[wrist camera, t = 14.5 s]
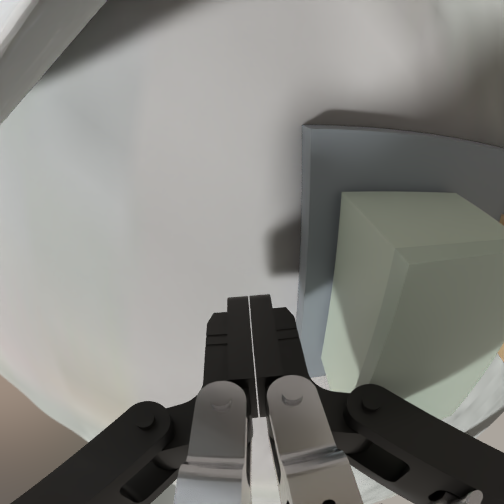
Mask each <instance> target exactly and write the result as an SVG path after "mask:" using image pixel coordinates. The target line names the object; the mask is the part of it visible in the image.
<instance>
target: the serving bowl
mask: <svg viewBox="0 0 504 504" xmlns="http://www.w3.org/2000/svg"><path fill="white" fill-rule="evenodd" d="M106 1H107V0H0V124H1V123H2V122H3V121H4V120H5V119H6V118H7V117H8V116H9V114H10V113H11V112H12V111H13V110H14V108H15V107H16V106H17V105H18V104H19V103H20V102H21V100H22V99H23V98H24V97H25V96H26V95H27V93H28V92H29V91H30V90H31V89H32V88H33V87H34V85H35V84H36V83H37V82H38V81H39V80H40V78H41V77H42V76H43V75H44V74H45V72H46V71H47V70H48V69H49V68H50V66H51V65H52V64H53V63H54V62H55V61H56V59H57V58H58V57H59V56H60V55H61V54H62V52H63V51H64V50H65V49H66V48H67V47H68V45H69V44H70V43H71V42H72V41H73V40H74V38H75V37H76V36H77V35H78V34H79V33H80V32H81V30H82V29H83V28H84V27H85V26H86V24H87V23H88V22H89V21H90V20H91V19H92V17H93V16H94V15H95V14H96V13H97V12H98V10H99V9H100V8H101V7H102V6H103V5H104V3H105V2H106Z"/></svg>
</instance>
